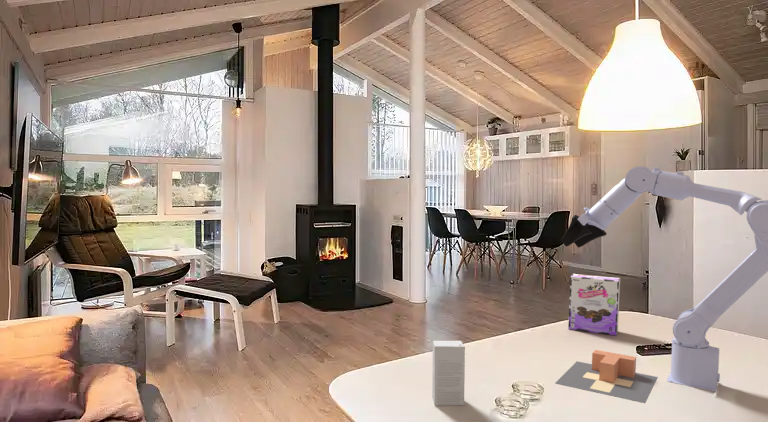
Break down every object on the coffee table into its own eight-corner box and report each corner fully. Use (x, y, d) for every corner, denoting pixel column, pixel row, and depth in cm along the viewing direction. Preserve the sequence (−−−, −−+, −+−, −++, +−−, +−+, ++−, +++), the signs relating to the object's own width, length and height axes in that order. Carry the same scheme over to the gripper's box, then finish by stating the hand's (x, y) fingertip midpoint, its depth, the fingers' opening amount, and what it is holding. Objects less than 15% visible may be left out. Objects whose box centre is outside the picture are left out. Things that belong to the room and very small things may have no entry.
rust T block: (635, 374, 125) (636, 357, 125) (628, 385, 118) (628, 367, 118) (594, 366, 130) (595, 349, 130) (585, 376, 123) (586, 359, 123)
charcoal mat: (657, 379, 124) (657, 376, 124) (644, 405, 109) (644, 403, 109) (576, 363, 134) (576, 361, 134) (554, 385, 119) (554, 383, 119)
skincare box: (460, 397, 112) (461, 340, 111) (464, 406, 107) (465, 346, 107) (431, 397, 111) (432, 340, 111) (433, 406, 107) (434, 346, 106)
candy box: (567, 329, 165) (569, 275, 164) (570, 325, 170) (572, 272, 169) (616, 336, 158) (619, 280, 157) (618, 331, 164) (620, 277, 163)
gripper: (610, 197, 137) (571, 233, 143) (588, 191, 127) (547, 230, 133) (630, 217, 134) (589, 253, 140) (609, 213, 123) (566, 252, 129)
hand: (570, 244), depth 136 cm, fingers open, 7 cm apart
